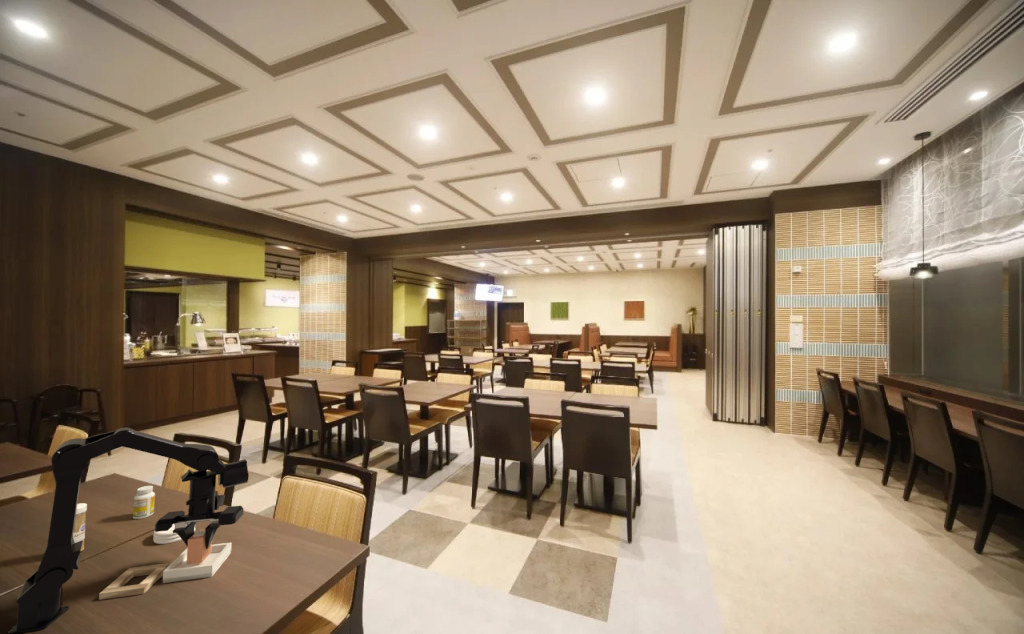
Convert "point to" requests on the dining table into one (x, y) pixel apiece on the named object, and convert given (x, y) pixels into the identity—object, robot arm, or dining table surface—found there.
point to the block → (197, 548)
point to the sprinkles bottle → (80, 524)
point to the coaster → (166, 536)
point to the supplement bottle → (143, 502)
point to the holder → (120, 590)
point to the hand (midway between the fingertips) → (199, 548)
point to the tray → (197, 565)
